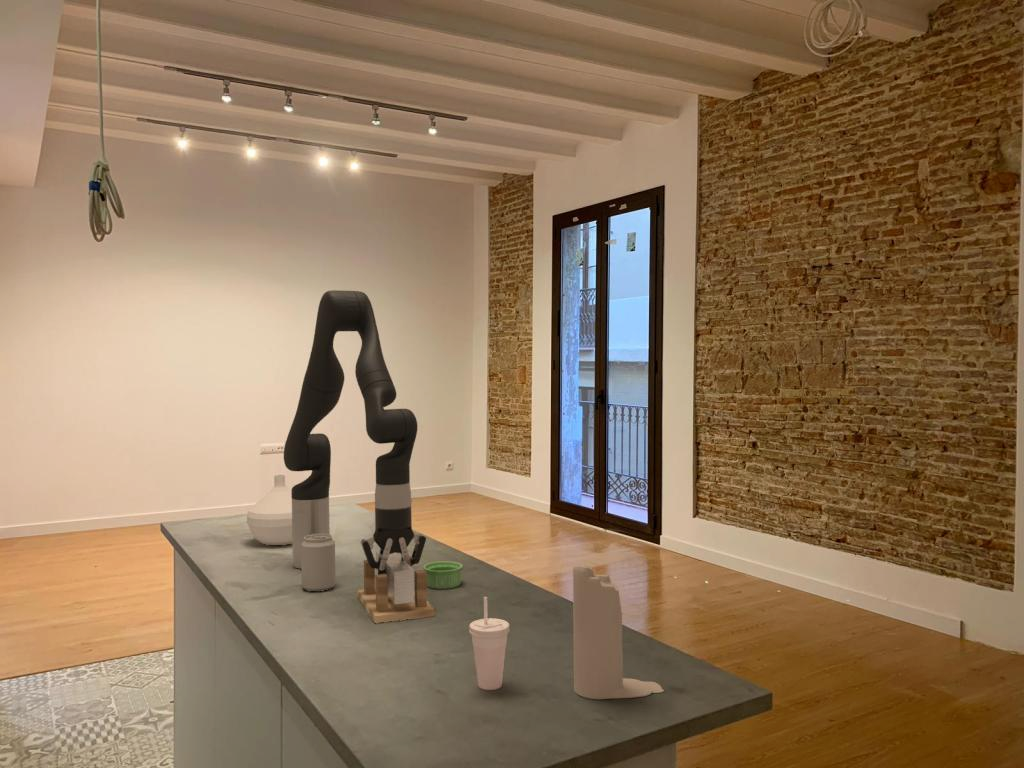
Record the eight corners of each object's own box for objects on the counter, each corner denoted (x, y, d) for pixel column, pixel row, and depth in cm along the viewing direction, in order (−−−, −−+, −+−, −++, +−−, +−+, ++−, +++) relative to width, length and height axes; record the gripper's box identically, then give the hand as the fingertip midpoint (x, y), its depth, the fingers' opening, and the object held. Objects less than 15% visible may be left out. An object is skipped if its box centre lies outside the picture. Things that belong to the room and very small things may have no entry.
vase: (327, 539, 231) (326, 473, 230) (277, 552, 215) (276, 482, 215) (283, 532, 241) (282, 469, 240) (233, 544, 225) (231, 477, 225)
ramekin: (470, 584, 183) (470, 565, 183) (441, 592, 177) (441, 573, 177) (444, 577, 190) (444, 558, 189) (415, 585, 183) (415, 566, 183)
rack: (357, 597, 174) (357, 558, 173) (411, 590, 178) (411, 553, 178) (375, 623, 156) (374, 580, 156) (434, 616, 160) (433, 574, 160)
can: (327, 593, 177) (326, 540, 176) (296, 592, 178) (295, 538, 178) (341, 584, 184) (340, 532, 184) (310, 582, 185) (310, 531, 185)
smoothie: (469, 677, 129) (468, 592, 128) (508, 676, 129) (507, 590, 129) (470, 694, 122) (469, 604, 122) (512, 692, 123) (511, 602, 123)
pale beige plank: (376, 581, 175) (376, 551, 174) (394, 579, 176) (394, 550, 176) (394, 604, 158) (394, 571, 158) (414, 601, 159) (413, 569, 159)
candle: (668, 696, 121) (667, 566, 120) (578, 700, 120) (577, 568, 119) (656, 678, 128) (655, 554, 127) (570, 681, 127) (569, 557, 126)
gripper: (421, 499, 172) (422, 577, 173) (355, 504, 167) (357, 585, 168) (430, 504, 165) (432, 586, 166) (362, 510, 160) (363, 594, 161)
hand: (394, 585), depth 167 cm, fingers closed on pale beige plank, 4 cm apart
